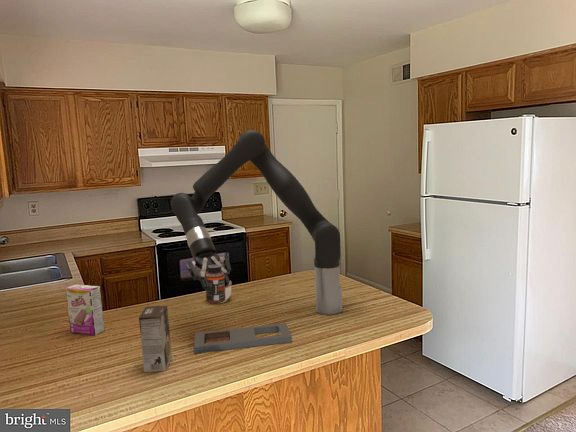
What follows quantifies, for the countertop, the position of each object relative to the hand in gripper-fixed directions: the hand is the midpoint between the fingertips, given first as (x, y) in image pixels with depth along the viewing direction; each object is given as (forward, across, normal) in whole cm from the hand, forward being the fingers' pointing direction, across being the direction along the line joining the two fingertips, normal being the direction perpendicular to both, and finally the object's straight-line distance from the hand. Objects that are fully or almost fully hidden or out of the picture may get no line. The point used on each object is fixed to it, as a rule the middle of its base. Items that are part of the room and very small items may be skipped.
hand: (217, 287), depth 135 cm
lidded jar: (-14, +18, +41) cm, 47 cm away
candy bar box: (-14, -32, +43) cm, 55 cm away
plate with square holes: (+14, +7, +12) cm, 20 cm away
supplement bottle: (+2, 0, +5) cm, 5 cm away
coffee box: (+14, -20, +13) cm, 28 cm away
